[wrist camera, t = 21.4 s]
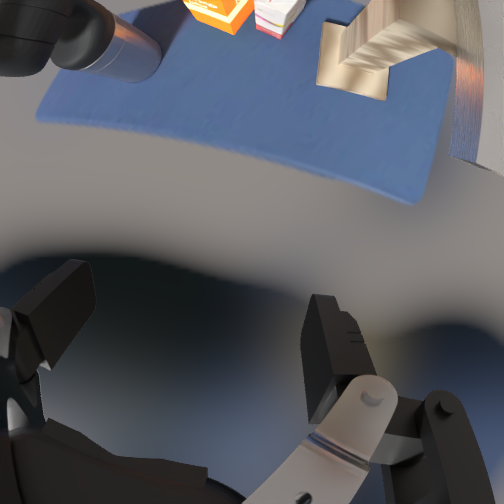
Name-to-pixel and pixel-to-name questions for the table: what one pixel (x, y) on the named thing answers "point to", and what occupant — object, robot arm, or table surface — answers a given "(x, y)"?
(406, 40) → the birch stand
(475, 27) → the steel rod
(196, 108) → the table surface
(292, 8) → the ink cartridge box
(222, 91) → the table surface
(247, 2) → the orange juice
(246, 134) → the table surface
